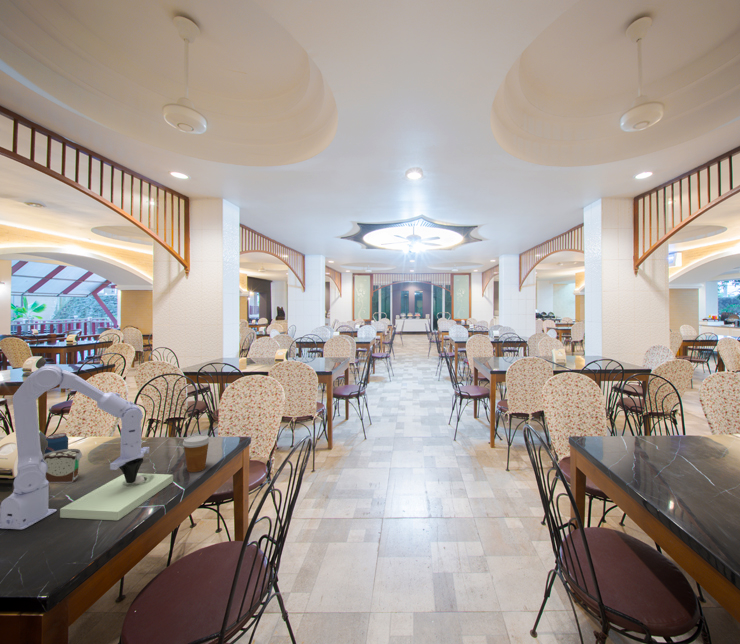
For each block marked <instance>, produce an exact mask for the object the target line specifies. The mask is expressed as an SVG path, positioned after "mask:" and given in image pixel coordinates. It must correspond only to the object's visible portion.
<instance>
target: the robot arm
mask: <svg viewBox="0 0 740 644" xmlns="http://www.w3.org/2000/svg"><path fill="white" fill-rule="evenodd" d="M58 385H59V387H58V389H72V390H74V391H76V392H77V393H80V394H82V395H84V396H85V397H88V398H90V400H93V401H95V402H96V405H97V408H98V409H100V410H102V411H103V412H105V413H107V414H109V415H111V416H112V417H115V418H120V421H121V428H120V452H119V453H120V456H118V458H116V459H115V460H114V461H112V462H110V463H109V470H114V471H116V470H119V469H120V471H121V472H122V473H123V474H124V476H125V479H126V483H133V482H135V480H136V476H137V473H139V470H140V468H141V465H142V464H143V462H144V458H143V457H145V454H149V453H150V446H143V447H142V420H143V419H144V418H143V417H144V414H143V412H142V410H141V408H140V407H139V406H138V405H137V404H136V403H134V402H133V401H131V400H130V401H128V400H127V399H125V398H123V397H121V393H119V392H113V391H110V392H104V391H103V390H101V389H99V388H98V387H96V386H94V385H93V384H91V383H90V382H88V381H86V380H85V379H84V378H82V377H80V376H79V375H77V374H76V373H73V372H71V371H69V370H66V369H62V368H61V367H60V366H58V365H55V364H45V365H42V366H41V367H39V368H38V369H36V370H35V371H33V372H32V373H31V374H29V375H28V376H27V377H26V379H25V380H24V381H23V382H22V384H21V385H20V386H19V388H17V390H16V392H15V393H14V394H13V395H12V410H13V419H14V429H15V437H16V447H17V448H16V449H17V468H16V470H17V473H16V476H15V478H14V480H13V492H12V493H11V494H10V495H9V496H8V497H5V498H4V499H3V500H2V501H1V503H0V529H7V530H8V529H9V530H25V529H26V528H28V527H30V526H32V525H34V524H35V523H37V522H39V521H41V520H43V519H45V518H47V517H49V516H50V515H52V514H54V513H55V512H57V509H55V508H49V490H50V489H49V488H50V487H49V485H50V483H49V481H48V480H46V479H45V475H46V472H47V470H48V465H47V463H46V462H45V461H44V460H43V452H42V449H41V448H42V447H41V437H40V425H39V418H38V416H39V415H38V406H37V399H39V397H41V396H42V395H43V394H44V393H45V392H47V391H49V390H52V389H54V388H55V387H57V386H58ZM123 474H122V475H123Z"/></svg>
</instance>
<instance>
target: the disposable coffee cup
mask: <svg viewBox="0 0 740 644" xmlns="http://www.w3.org/2000/svg"><path fill="white" fill-rule="evenodd" d="M210 441H211V439H210V437H209V435H207V434H195V435H190V436H186V437H185V438H184V439H183V442H182V445H183V449H184V456H185V461H186V462H185V464H186V471H187V472H189V473H196V472H197V473H198V472H200V471H201V472H202V471H203V470H204V469H206V464H207V458H208V450H209V443H210Z"/></svg>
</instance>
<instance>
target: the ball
mask: <svg viewBox="0 0 740 644" xmlns="http://www.w3.org/2000/svg"><path fill="white" fill-rule="evenodd" d="M144 481H145V479H144V477H143V476H136V480H135V482H133V483H132V484H136V483H141V482H144Z"/></svg>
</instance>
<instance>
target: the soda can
mask: <svg viewBox="0 0 740 644" xmlns="http://www.w3.org/2000/svg"><path fill="white" fill-rule="evenodd" d="M45 440H47V441H48V447H47V448H46V450H45V449H44V450H45V453H44V454H47V453H50V452H54V451H58V450H64V449H69V437H68V436H67V433H65V432H64V433H63V432H62V433H61V432H60V433H53V434H50V435H48V436H46V439H45ZM44 454H43V455H44Z"/></svg>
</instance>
